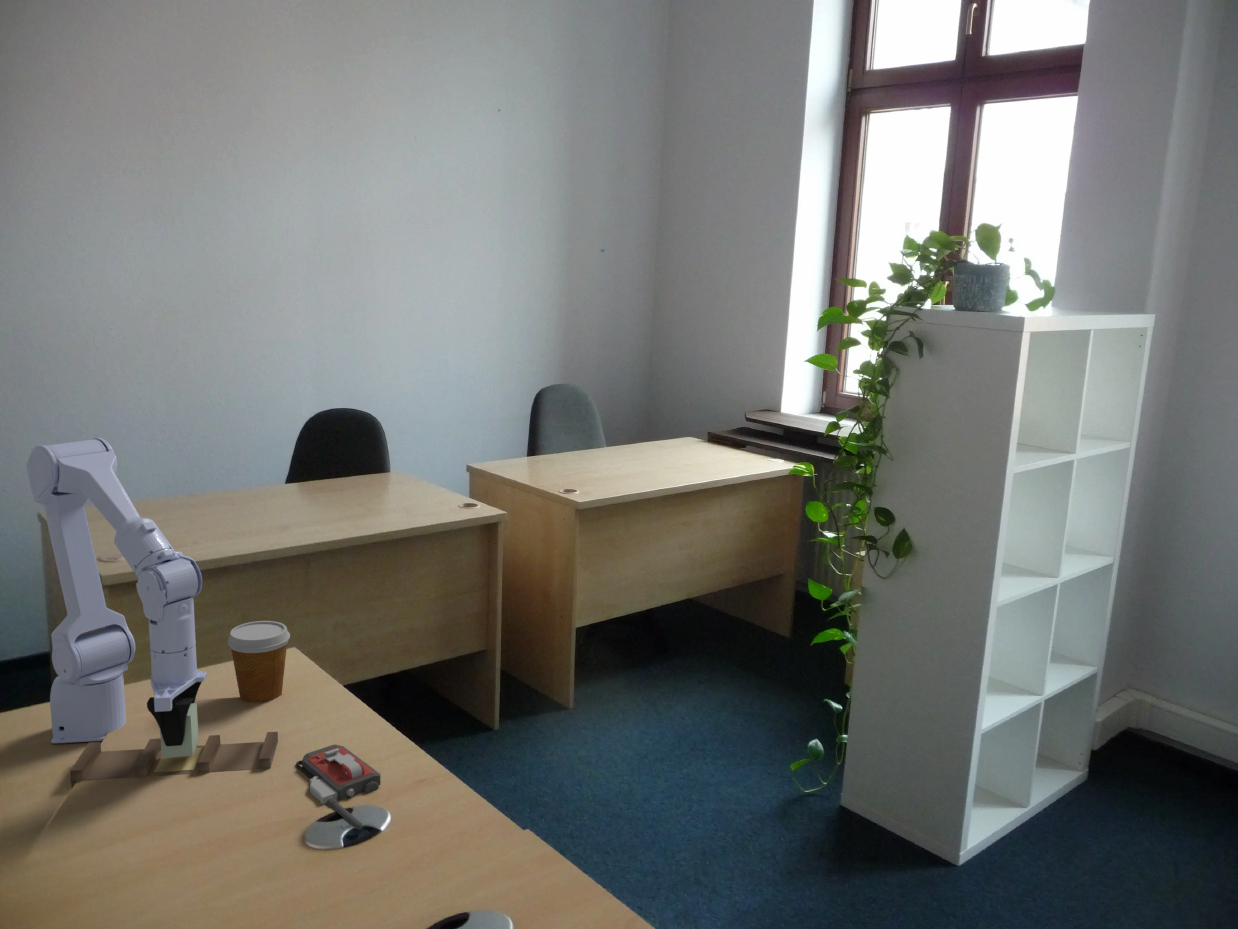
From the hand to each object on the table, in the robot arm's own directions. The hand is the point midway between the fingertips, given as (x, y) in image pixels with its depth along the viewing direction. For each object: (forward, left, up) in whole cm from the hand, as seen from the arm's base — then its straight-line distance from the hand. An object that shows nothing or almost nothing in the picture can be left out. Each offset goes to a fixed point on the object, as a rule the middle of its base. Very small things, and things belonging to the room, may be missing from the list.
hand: (178, 737), depth 136 cm
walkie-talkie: (+23, -11, -5) cm, 26 cm away
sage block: (0, 0, -2) cm, 2 cm away
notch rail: (0, 0, -4) cm, 4 cm away
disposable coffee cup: (+8, +21, -5) cm, 23 cm away
